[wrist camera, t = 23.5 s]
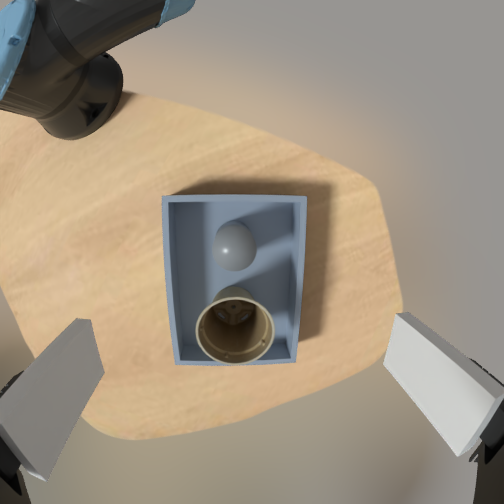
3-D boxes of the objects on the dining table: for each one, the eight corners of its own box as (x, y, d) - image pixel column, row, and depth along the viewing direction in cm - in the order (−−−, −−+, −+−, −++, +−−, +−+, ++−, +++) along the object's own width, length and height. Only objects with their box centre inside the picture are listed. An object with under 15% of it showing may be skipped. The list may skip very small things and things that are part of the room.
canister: (215, 220, 37) (211, 228, 30) (252, 220, 37) (256, 227, 31) (215, 256, 38) (212, 271, 31) (251, 256, 39) (256, 271, 32)
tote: (170, 195, 36) (161, 195, 32) (297, 195, 38) (307, 196, 33) (180, 347, 41) (175, 364, 37) (289, 345, 43) (295, 362, 38)
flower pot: (217, 263, 38) (213, 284, 30) (276, 289, 40) (289, 314, 32) (192, 318, 40) (184, 349, 32) (249, 341, 41) (254, 374, 33)
